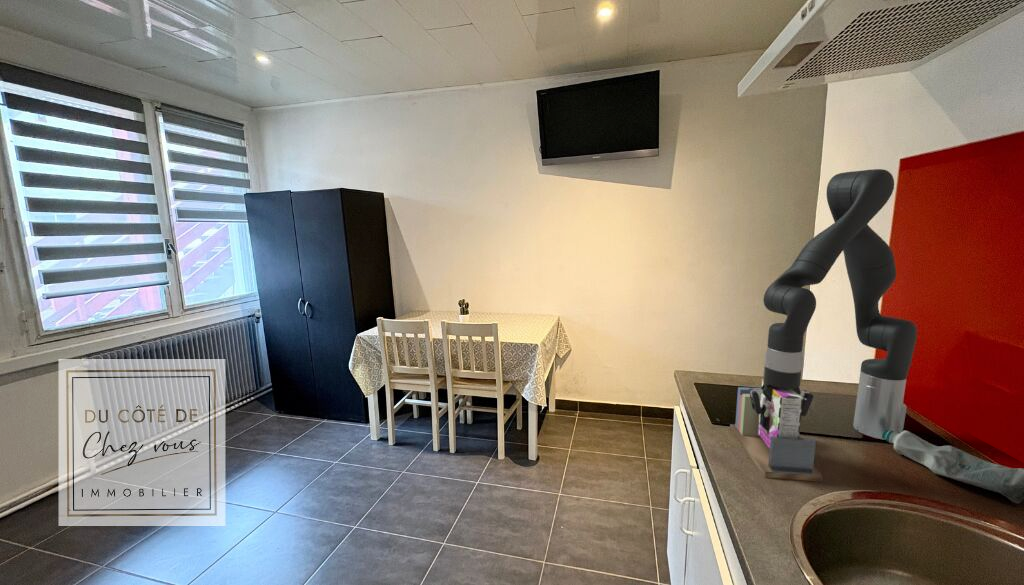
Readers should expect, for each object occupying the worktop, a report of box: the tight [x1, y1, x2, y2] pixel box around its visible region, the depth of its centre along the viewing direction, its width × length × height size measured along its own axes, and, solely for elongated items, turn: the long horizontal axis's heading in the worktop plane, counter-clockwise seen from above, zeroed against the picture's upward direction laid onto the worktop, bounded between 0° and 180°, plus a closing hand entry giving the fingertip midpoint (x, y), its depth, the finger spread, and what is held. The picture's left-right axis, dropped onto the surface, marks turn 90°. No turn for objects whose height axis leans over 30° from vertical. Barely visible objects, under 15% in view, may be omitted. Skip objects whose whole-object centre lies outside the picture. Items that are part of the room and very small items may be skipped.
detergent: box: [882, 430, 1024, 504], centre depth 91 cm, size 13×7×25 cm
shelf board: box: [729, 423, 823, 482], centre depth 101 cm, size 12×22×2 cm, turn 170°
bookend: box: [768, 436, 817, 475], centre depth 91 cm, size 9×2×8 cm, turn 80°
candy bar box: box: [758, 377, 803, 449], centre depth 98 cm, size 11×5×16 cm, turn 168°
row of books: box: [734, 386, 761, 436], centre depth 108 cm, size 10×5×12 cm, turn 80°
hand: (777, 428), depth 98 cm, fingers closed on candy bar box, 5 cm apart
